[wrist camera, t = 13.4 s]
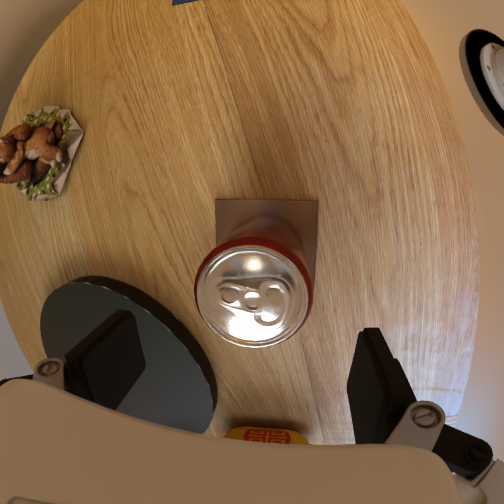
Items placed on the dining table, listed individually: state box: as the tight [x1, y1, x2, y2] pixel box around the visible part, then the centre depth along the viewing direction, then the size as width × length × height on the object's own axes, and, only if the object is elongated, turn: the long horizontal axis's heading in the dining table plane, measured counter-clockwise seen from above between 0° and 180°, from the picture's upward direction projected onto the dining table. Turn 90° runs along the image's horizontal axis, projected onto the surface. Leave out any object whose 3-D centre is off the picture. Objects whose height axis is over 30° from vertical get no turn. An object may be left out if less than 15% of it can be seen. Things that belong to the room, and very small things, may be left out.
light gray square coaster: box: [215, 199, 318, 291], centre depth 27 cm, size 10×10×1 cm
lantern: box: [222, 426, 312, 445], centre depth 30 cm, size 10×10×30 cm
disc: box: [40, 276, 217, 434], centre depth 34 cm, size 30×30×3 cm
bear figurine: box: [0, 105, 84, 201], centre depth 22 cm, size 14×15×12 cm
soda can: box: [194, 214, 313, 348], centre depth 22 cm, size 7×7×12 cm
